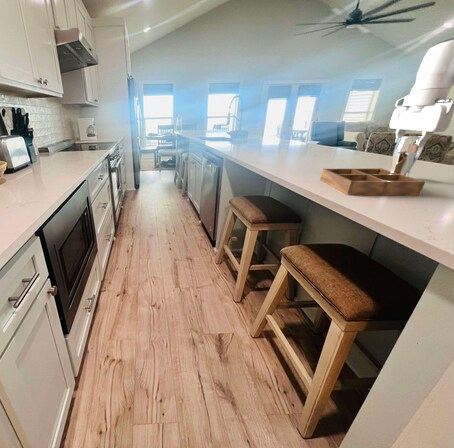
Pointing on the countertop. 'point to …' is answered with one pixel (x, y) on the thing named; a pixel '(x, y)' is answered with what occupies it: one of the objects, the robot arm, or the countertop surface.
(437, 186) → the countertop surface
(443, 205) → the countertop surface
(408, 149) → the beer glass
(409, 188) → the wooden compartment tray
